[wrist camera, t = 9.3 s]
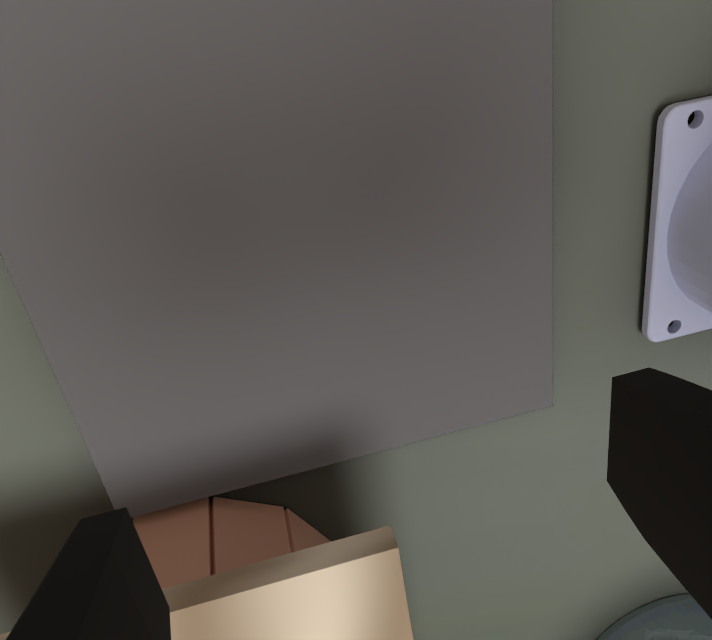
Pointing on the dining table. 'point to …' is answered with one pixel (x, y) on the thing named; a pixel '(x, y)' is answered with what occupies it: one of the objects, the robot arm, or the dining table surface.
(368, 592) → the lid
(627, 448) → the robot arm
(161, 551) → the bowl
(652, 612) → the dark green cup
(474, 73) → the mat
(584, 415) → the dining table surface
